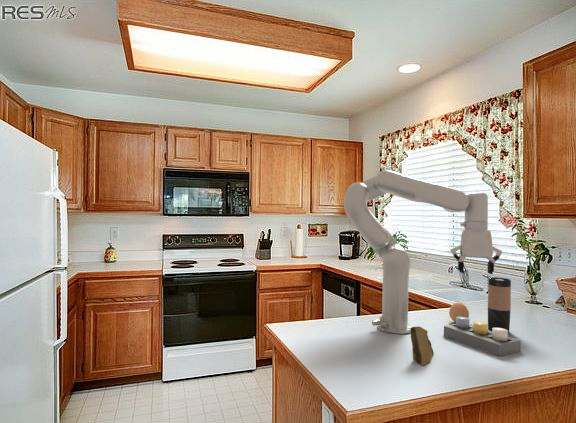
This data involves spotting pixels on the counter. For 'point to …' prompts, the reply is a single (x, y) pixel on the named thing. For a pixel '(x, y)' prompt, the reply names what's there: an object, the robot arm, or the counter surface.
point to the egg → (458, 311)
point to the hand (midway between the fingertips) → (475, 272)
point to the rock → (421, 346)
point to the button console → (482, 340)
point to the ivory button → (500, 334)
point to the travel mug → (499, 303)
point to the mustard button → (480, 328)
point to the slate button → (462, 322)
